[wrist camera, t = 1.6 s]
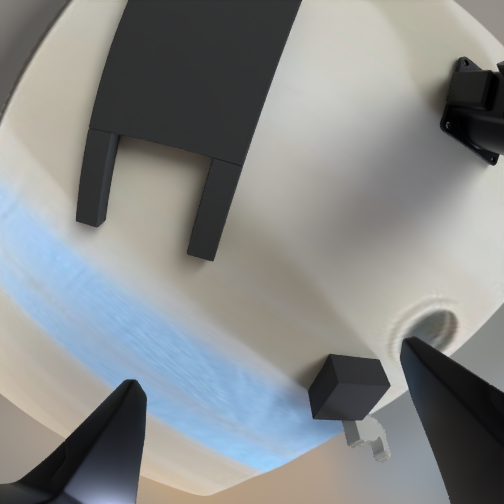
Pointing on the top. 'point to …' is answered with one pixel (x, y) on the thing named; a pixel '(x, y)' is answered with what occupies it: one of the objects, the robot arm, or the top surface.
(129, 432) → the robot arm
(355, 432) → the light grey notched plate
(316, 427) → the top surface
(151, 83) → the base pad
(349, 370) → the dark grey rectangular block
